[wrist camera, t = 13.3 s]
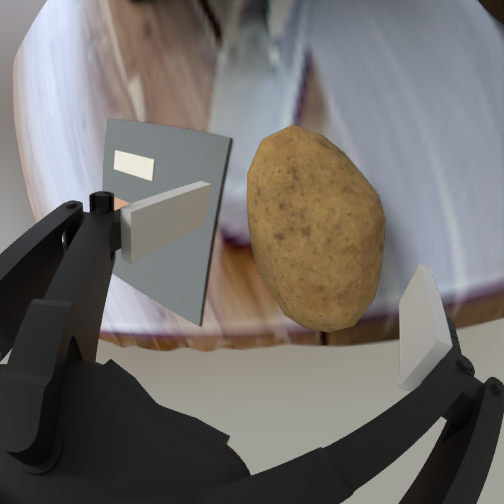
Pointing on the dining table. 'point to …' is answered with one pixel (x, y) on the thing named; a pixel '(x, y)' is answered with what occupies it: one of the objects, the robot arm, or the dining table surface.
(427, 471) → the robot arm
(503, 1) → the olive oil
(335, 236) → the potato
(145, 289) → the tile
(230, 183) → the dining table surface
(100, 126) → the dining table surface
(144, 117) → the dining table surface
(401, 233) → the dining table surface
